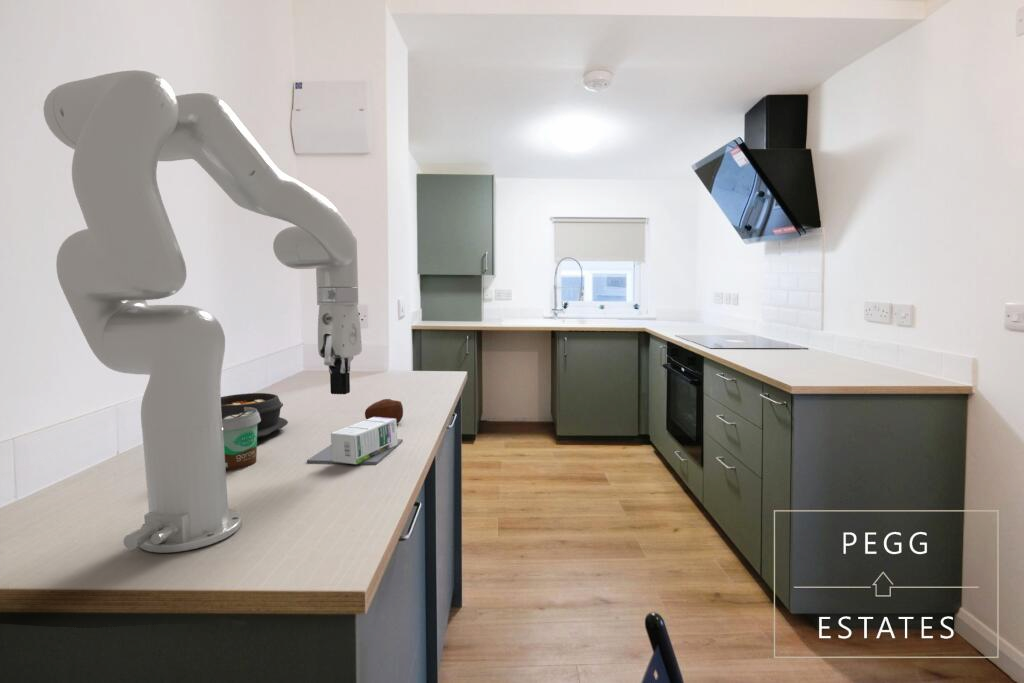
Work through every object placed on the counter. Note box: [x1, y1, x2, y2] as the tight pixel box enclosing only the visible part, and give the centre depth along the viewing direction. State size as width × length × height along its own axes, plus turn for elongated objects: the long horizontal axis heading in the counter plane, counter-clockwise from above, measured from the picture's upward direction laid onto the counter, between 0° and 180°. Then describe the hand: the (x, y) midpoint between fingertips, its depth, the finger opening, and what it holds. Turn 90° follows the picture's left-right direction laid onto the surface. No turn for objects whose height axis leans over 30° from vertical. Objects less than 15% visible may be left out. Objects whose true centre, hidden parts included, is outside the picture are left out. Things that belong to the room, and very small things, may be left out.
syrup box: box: [330, 417, 399, 465], centre depth 116 cm, size 6×6×14 cm
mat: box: [306, 438, 404, 465], centre depth 119 cm, size 16×14×1 cm
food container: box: [222, 407, 261, 472], centre depth 111 cm, size 12×6×10 cm, turn 168°
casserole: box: [221, 392, 289, 439], centre depth 135 cm, size 25×19×8 cm
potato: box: [364, 398, 404, 425], centre depth 141 cm, size 7×9×6 cm
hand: (340, 393), depth 111 cm, fingers closed
